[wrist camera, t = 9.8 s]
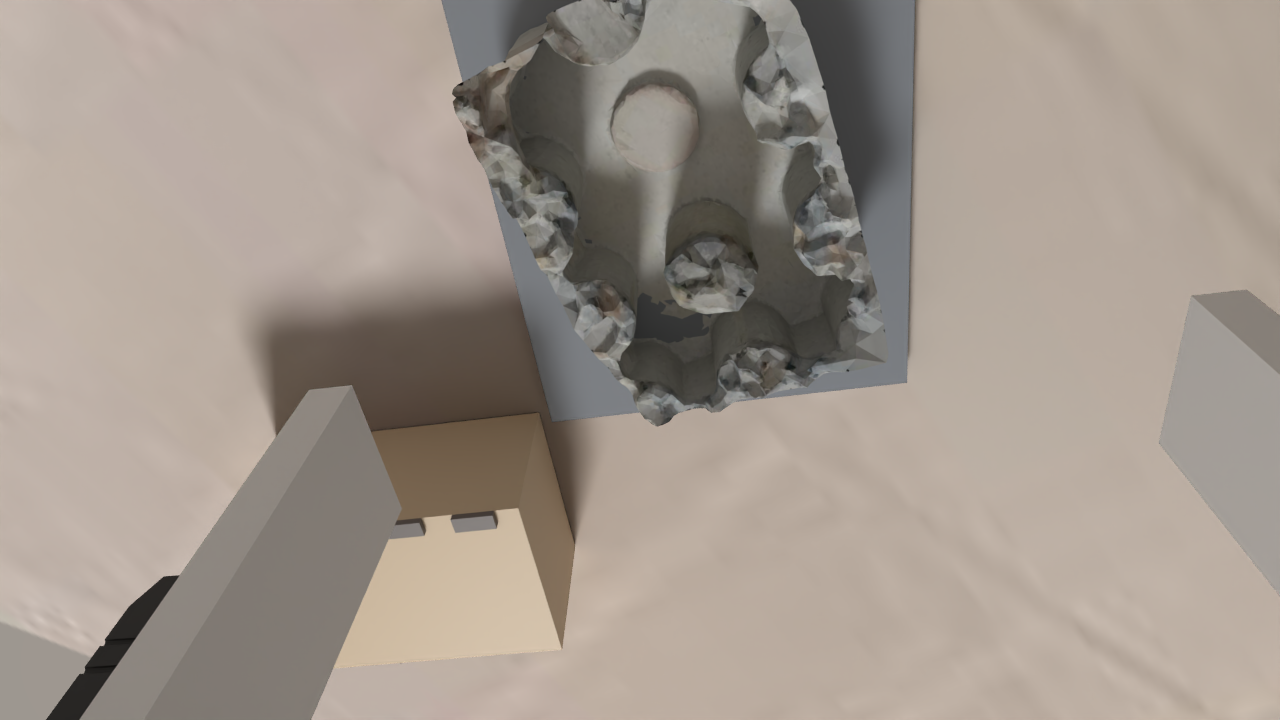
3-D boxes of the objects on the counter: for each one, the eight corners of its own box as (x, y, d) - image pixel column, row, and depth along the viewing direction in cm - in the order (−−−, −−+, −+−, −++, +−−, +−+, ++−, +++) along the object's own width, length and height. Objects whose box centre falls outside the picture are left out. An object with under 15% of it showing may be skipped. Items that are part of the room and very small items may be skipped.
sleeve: (538, 412, 27) (517, 513, 23) (574, 546, 30) (561, 655, 26) (276, 442, 28) (211, 543, 24) (338, 568, 31) (290, 677, 27)
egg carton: (466, 38, 20) (423, 77, 17) (763, -89, 18) (785, -75, 15) (628, 382, 25) (622, 467, 22) (872, 306, 24) (907, 385, 20)
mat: (911, -158, 18) (918, -158, 18) (902, 371, 25) (906, 382, 25) (429, -72, 19) (423, -70, 19) (554, 410, 27) (551, 422, 26)
